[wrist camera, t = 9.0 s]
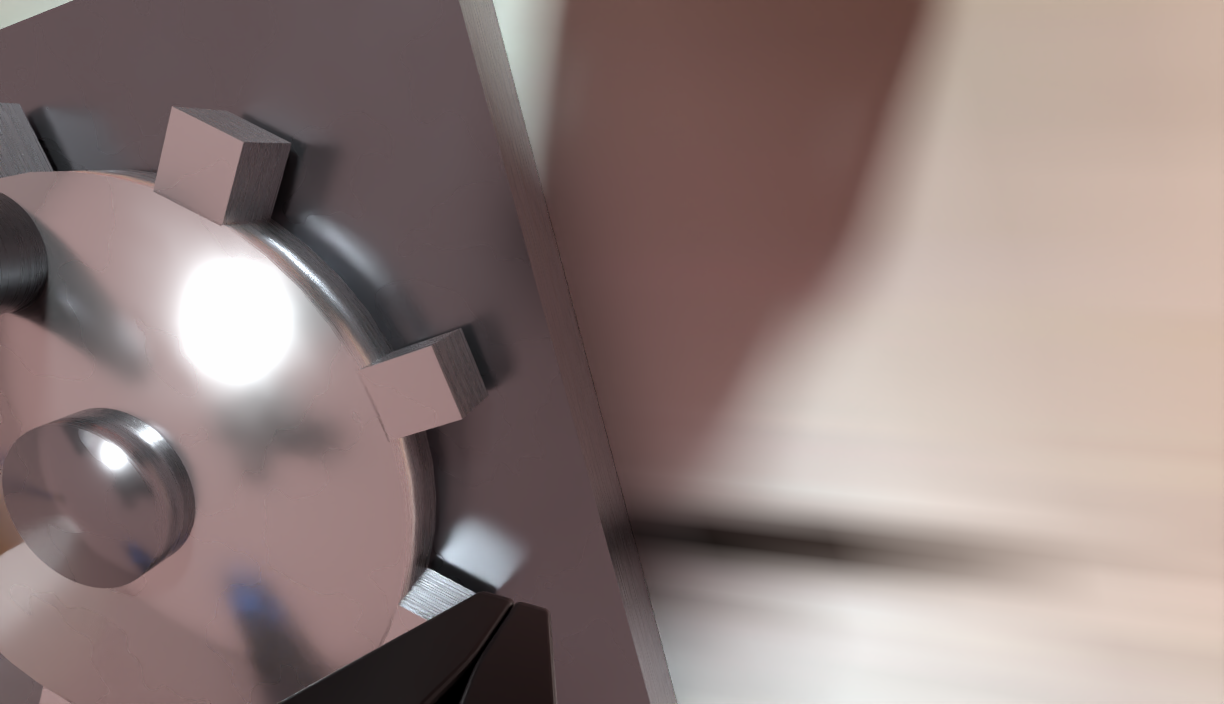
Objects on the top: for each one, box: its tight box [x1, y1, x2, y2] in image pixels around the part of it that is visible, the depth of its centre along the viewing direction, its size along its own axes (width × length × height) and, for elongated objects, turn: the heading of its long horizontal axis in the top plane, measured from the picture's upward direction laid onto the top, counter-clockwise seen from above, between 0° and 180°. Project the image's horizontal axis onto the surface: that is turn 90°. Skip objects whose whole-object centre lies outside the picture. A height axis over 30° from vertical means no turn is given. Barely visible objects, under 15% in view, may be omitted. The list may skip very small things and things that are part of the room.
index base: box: [0, 0, 677, 704], centre depth 20 cm, size 24×24×6 cm
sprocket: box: [0, 103, 489, 704], centre depth 17 cm, size 20×20×7 cm
